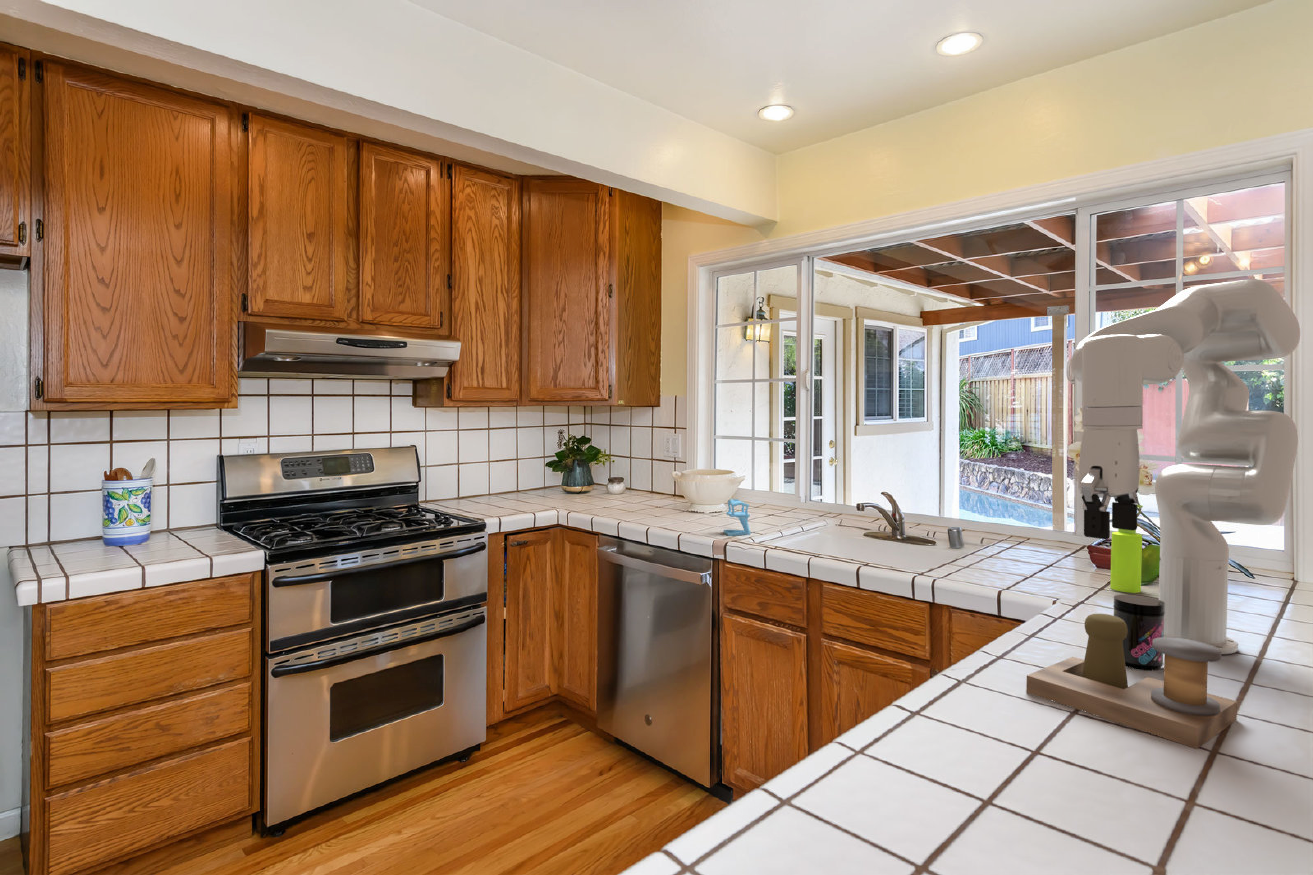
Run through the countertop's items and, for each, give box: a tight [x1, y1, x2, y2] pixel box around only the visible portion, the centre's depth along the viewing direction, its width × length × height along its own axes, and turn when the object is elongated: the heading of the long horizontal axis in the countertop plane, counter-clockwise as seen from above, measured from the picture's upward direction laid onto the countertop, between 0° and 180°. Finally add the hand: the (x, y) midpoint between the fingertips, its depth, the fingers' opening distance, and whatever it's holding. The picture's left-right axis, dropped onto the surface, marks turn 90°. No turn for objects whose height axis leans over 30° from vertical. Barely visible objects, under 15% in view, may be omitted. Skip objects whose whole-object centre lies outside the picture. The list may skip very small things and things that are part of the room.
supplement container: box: [1112, 594, 1165, 671], centre depth 109 cm, size 7×7×10 cm
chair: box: [723, 498, 751, 537], centre depth 232 cm, size 8×8×12 cm
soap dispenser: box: [1109, 504, 1143, 594], centre depth 158 cm, size 6×7×20 cm
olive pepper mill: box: [1081, 613, 1129, 689], centre depth 98 cm, size 6×6×11 cm
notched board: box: [1025, 637, 1238, 750], centre depth 93 cm, size 14×20×10 cm
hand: (1110, 533), depth 102 cm, fingers open, 9 cm apart
